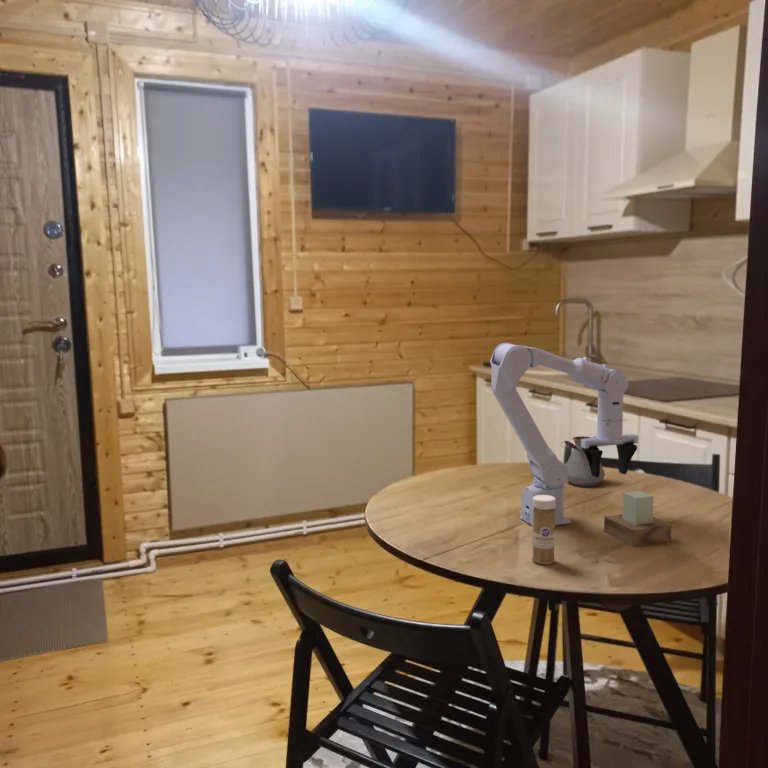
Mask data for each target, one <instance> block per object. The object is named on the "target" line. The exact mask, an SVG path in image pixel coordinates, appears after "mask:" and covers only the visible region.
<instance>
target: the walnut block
mask: <svg viewBox="0 0 768 768" xmlns="http://www.w3.org/2000/svg"><path fill="white" fill-rule="evenodd" d="M603 518H604V520H603V521H604V524H603V525H604V526H603V531H604V533H605V534H606V533H607V534H608V535H610V536H612V537H614V538H616V539H618V540H619V541H622V542H623V543H626V544H627V545H629V546H630V547H635V546H642V545H649V544H656V543H664V542H668V541H669V542H670V541H672V524H670V523H668V522H667V521H666V522H665V521H664V520H661V519H659V518H657V517H654V516H653V523H646V524H639V525H634V524H632V523H630V522H628V521H626V520H624V519H622V518H623V513H622V514H615V515H614V514H613V515H608V516H607V515H605V516H604V517H603Z"/></svg>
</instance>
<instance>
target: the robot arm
mask: <svg viewBox="0 0 768 768" xmlns="http://www.w3.org/2000/svg"><path fill="white" fill-rule="evenodd" d="M591 360H592V359H591V358H590V357H587V356H583V357H577V358H575V359H573V360H570V359H567V358H565V357H562V356H560V355H557V354H554V353H552V352H549V351H547V350H544V349H542V348H538V347H537V348H536V347H533V346H532V347H531V346H526V345H521V344H512V343H510V342H503V343H499V344H498V345H497V346H496V347H495V349H494V350H493V353H492V355H491V358H490V359H489V362H490V366H491V367H490V368H491V383H490V385H491V386H490V388H491V391H492V393H493V395H494V397H495V398H496V400H497V402H498V404H499V406H500V407H501V408H502V411H503V412H504V414H505V416H506V417H507V420H508V422H509V424H510V425H511V427H512V428H513V431H514V432H515V434H516V435H517V437H518V439H519V441H520V442H521V444H522V446H523V449H525V452H526V454H525V455H526V458H527V460H528V463H529V471H530V473H531V475H532V476H533V479H532V484H531V485H529V486H526V487H524V488H523V489H522V491H521V515H520V516H519V519H521V520H523V521H524V522H526V523H527V524H529V525H531V526H532V527H533V497H534V496H536V495H549V496H553V497H555V499H556V507H555V526H560V525H568V524H571V523H572V521H571V520H569V519H568V518H566V517H564V511H565V510H564V508H565V507H564V505H565V484H566V483H567V481H568V480H567V479H568V475H569V472H568V468H567V466H566V464H565V463H564V462H563V461H560V460H559V459H558V457H557V455H556V454H555V453H554V451H553V450H552V449H551V447H550V446H549V445H548V443H547V442H546V440H545V438H544V437H543V435H542V433H541V431H540V430H539V427H538V426H537V424H536V422H535V421H534V419H533V417H532V415H531V412H530V411H529V410H528V408H527V406H526V405H525V403H524V401H523V399H522V397H521V395H520V394H519V392H518V390H517V387H518V384H519V382H520V379H521V378H522V377H523V375H525V373H526V372H527V371H528V369H529V368H537V367H539V366H543V367H546V368H548V369H553V370H556V371H559V372H562V373H564V374H565V373H566V374H567V376H568V377H569V378H568V379H569V380H570V381H571V382H575V383H577V384H580V385H583V386H586V387H588V388H591V389H594V390H595V389H596V390H597V422H596V423H597V425H596V426H597V427H596V429H597V430H596V434H597V435H596V436H589V437H590V438H586V439H581V447H582V450H583V452H584V454H585V455H586V458H587V460H588V463H589V466H590V469H591V474H592V476H594V477H599V474H600V463H601V461H602V455H603V450H601V449H599V447H608V446H615V447H616V450H617V458H618V459H617V460H618V461H617V462H618V463H617V464H618V468H617V469H618V472H619V474H623V475H627V473H628V469H629V466H630V463H631V460H632V458H633V456H634V455H635V453H636V451H637V450H638V445H637V444H638V443H639V435H638V434H634V433H629V434H628V433H627V434H623V425H624V424H623V423H624V421H623V418H624V417H623V415H624V395H625V394H624V393H625V392H626V391H627V389H628V387H629V383H630V382H629V381H628V380H627V376H626V374H624V372H622V371H620V370H618V369H613V368H610V367H609V365H608V364H605V363H602V365H601V364H600V363H596V362H593V361H591Z"/></svg>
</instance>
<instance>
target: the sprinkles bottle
mask: <svg viewBox="0 0 768 768" xmlns="http://www.w3.org/2000/svg"><path fill="white" fill-rule="evenodd" d="M555 507H556V499H555V497H553V496H549V495H536V496H534V497H533V526H532V559H531V560H532V561H533V562H534V563H535V564H538V565H544V566H546V565H552V564H554V563H555V561H556V559H555V544H556V541H555V539H556V538H555V537H556V525H555Z"/></svg>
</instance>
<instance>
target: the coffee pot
mask: <svg viewBox="0 0 768 768" xmlns="http://www.w3.org/2000/svg"><path fill="white" fill-rule="evenodd" d="M590 437H591V436H573V437H572V440H573V442H574V443H573V442H571V441H569V440H565V441H562V442H561V443H560V446H561V447H563V445H562V444H563V443H565V445H566V446H567V447H566V449H568V448H571V449H572V452H571V454H570V456H569V458H568V460H567V462H566V464H565V465H566V466H567V468H568V472H569V475H568V479H567V481H569V483H570V484H571V485H573V486H579V487H593V486H597V485H598V484H599V483H600V482H602V481H603V480H604V478H605V476H606V473H605V470H604V469H603V465H602V463H601V462H600V474H599V477H594V476H592V474H591V469H590V466H589V463H588V460H587V458H586V455H585V454H584V452H583V450H582V447H581V439H586V438H590Z"/></svg>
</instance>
